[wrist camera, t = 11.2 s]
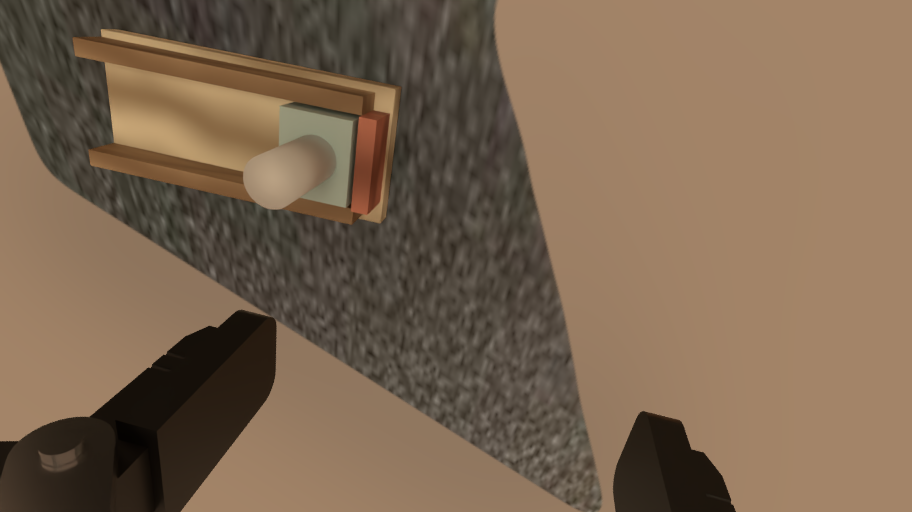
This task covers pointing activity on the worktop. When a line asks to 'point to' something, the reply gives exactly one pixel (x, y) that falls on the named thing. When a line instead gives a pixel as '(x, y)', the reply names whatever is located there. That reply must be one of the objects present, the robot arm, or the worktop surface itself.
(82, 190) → the worktop surface
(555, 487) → the worktop surface
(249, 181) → the slider
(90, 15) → the worktop surface
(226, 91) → the track
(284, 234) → the worktop surface
